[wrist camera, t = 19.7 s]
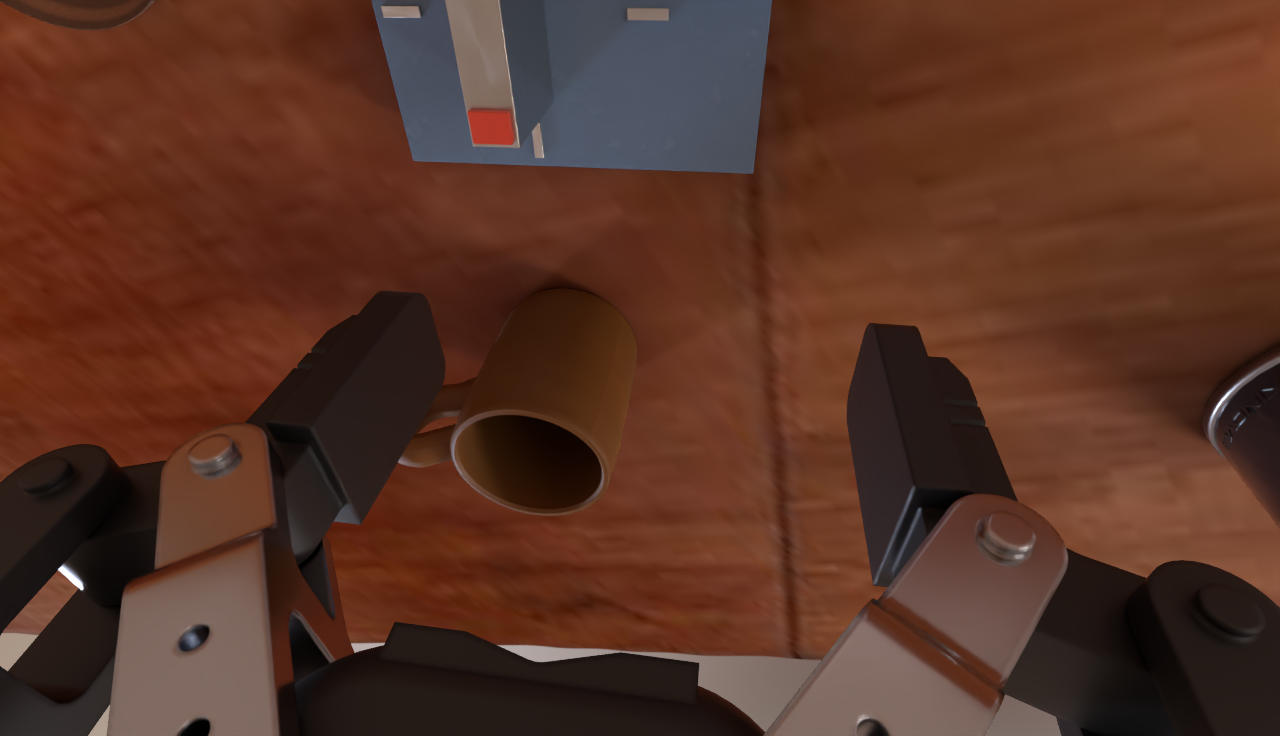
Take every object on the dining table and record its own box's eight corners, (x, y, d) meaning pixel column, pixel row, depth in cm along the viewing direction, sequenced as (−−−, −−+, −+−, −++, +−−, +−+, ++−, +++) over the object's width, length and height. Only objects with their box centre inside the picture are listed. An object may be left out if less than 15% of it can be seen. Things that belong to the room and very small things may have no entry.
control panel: (789, -207, 19) (795, -214, 17) (752, 145, 26) (753, 176, 24) (365, -195, 21) (315, -200, 18) (440, 135, 28) (411, 162, 25)
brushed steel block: (484, -96, 19) (424, -82, 16) (533, -97, 19) (484, -82, 16) (513, 101, 23) (469, 150, 20) (553, 102, 23) (518, 152, 19)
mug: (460, 390, 38) (395, 514, 31) (415, 288, 34) (327, 407, 26) (648, 388, 36) (624, 521, 29) (629, 278, 31) (595, 405, 24)
